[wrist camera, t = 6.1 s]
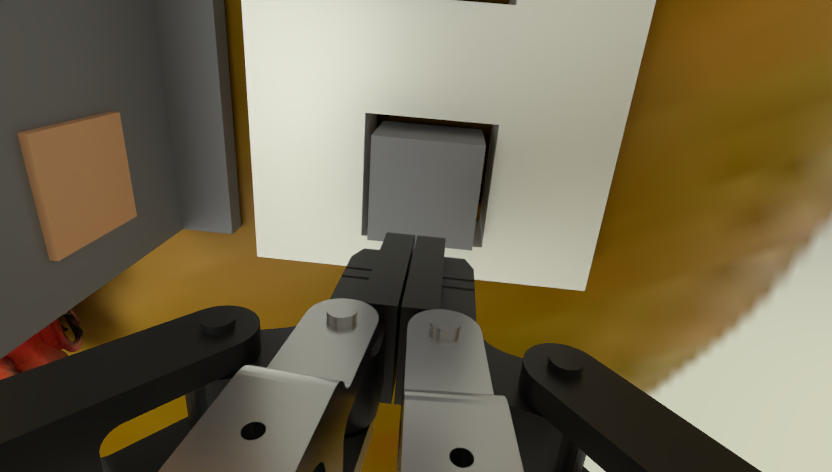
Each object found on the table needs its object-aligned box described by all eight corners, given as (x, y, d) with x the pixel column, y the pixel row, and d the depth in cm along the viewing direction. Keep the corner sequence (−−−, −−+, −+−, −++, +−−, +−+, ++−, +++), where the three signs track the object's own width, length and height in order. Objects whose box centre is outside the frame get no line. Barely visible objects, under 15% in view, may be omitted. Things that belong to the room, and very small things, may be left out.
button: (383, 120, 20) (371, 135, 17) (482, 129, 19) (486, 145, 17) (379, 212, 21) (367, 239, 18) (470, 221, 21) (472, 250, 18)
